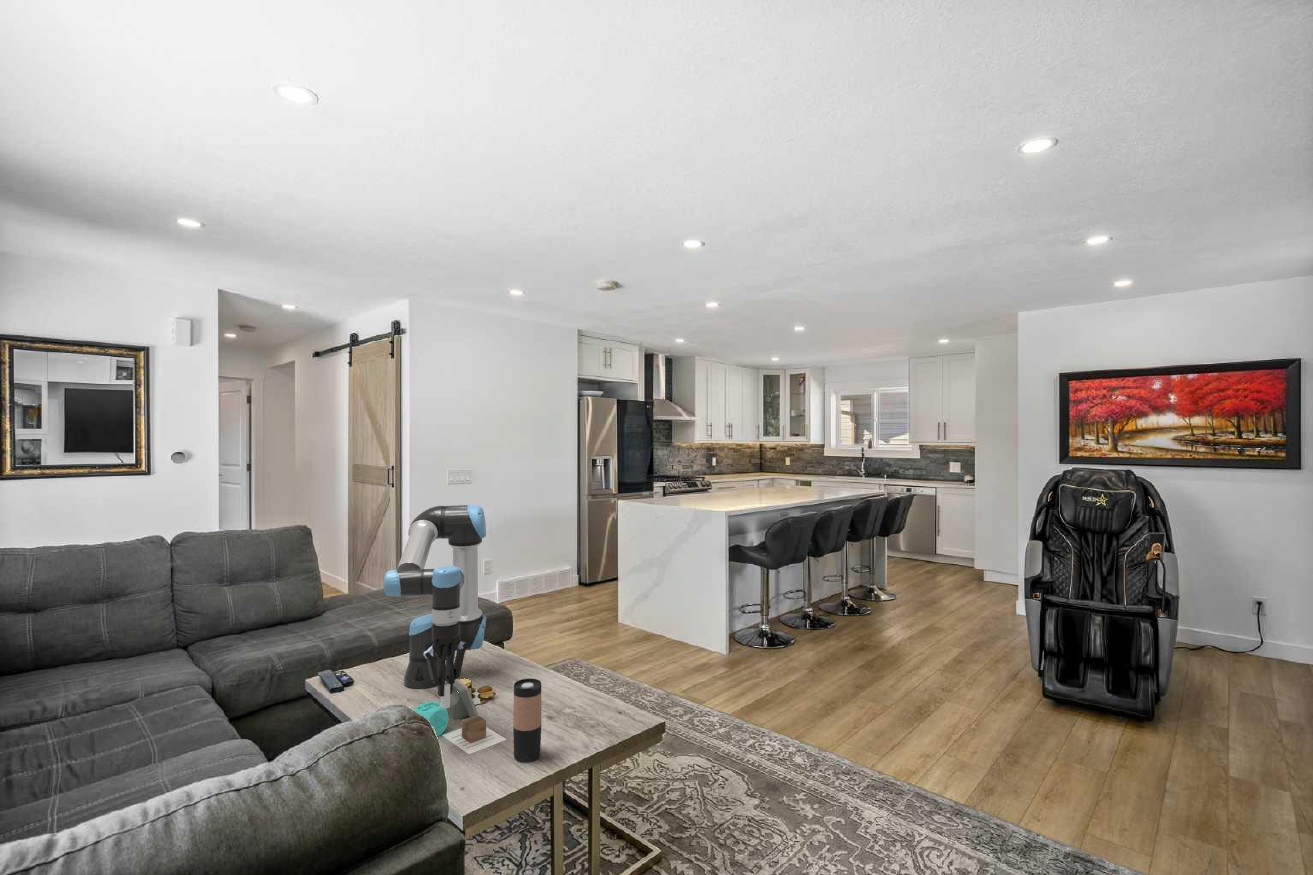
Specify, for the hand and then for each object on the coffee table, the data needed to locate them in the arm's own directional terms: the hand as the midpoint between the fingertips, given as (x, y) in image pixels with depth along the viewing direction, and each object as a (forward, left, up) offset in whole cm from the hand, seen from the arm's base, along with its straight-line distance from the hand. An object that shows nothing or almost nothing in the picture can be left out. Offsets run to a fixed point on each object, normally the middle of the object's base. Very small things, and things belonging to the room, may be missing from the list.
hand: (445, 706), depth 174 cm
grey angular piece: (-19, +15, -12) cm, 27 cm away
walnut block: (0, +9, -12) cm, 15 cm away
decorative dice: (-12, +1, -12) cm, 17 cm away
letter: (0, +9, -12) cm, 15 cm away
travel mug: (+20, +14, -12) cm, 27 cm away
